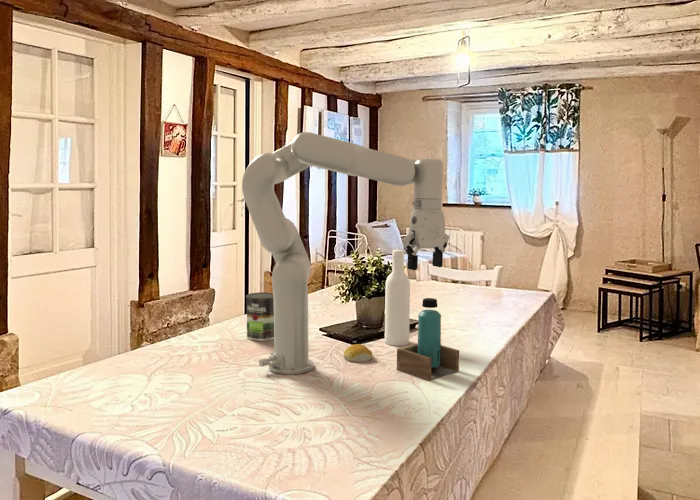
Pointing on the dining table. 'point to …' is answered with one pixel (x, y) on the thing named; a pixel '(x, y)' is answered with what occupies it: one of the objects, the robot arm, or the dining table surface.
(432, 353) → the beverage bottle
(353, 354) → the bread roll
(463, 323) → the dining table surface
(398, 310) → the bottle
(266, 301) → the coffee can
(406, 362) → the u rest
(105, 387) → the dining table surface
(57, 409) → the dining table surface
